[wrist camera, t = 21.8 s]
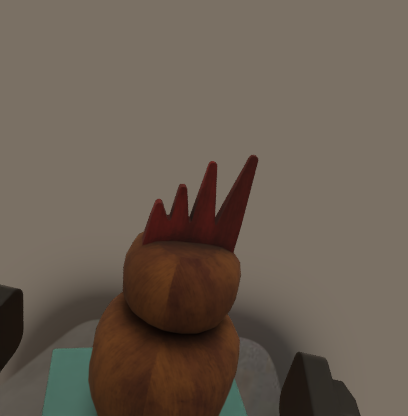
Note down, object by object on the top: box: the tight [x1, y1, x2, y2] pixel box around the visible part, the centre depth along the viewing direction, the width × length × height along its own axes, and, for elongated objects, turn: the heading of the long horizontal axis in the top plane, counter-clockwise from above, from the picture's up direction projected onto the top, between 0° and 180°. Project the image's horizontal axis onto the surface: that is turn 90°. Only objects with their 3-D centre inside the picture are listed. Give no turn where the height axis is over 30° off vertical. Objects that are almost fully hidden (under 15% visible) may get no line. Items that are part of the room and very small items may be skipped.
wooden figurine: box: [88, 155, 258, 416], centre depth 16 cm, size 7×6×15 cm
